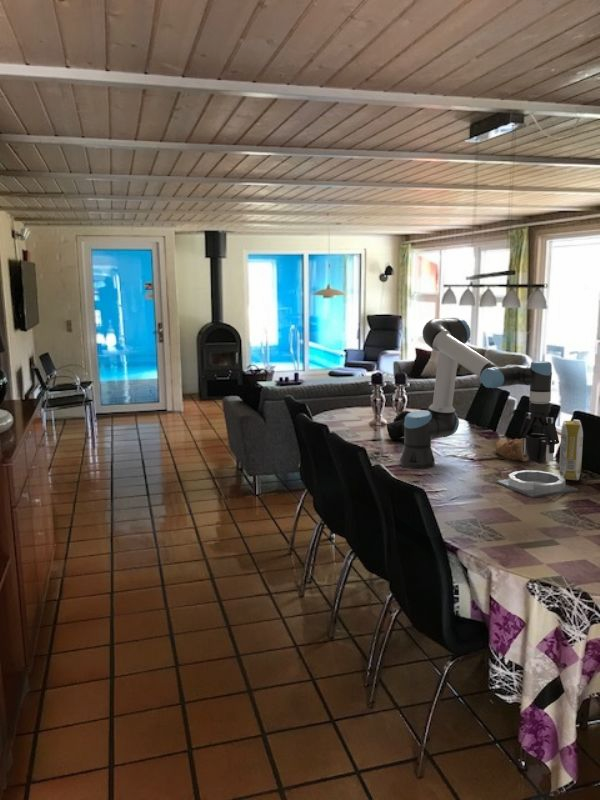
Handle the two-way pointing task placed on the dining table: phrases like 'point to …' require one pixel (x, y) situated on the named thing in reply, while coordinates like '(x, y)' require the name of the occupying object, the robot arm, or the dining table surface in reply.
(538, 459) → the mug
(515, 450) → the clay pipe
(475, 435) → the dining table surface
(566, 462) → the juice carton
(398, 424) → the valve
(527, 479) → the duct collar
